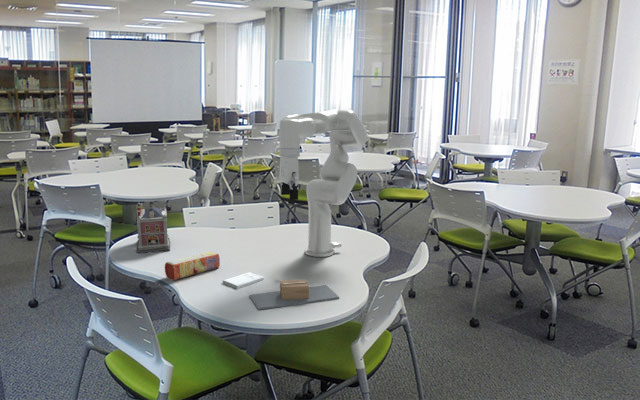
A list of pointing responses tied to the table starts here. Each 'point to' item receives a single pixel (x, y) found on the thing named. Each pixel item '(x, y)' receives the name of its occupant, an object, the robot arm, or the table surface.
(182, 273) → the snack package
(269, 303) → the mat
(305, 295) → the card box
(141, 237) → the model building
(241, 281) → the external hard drive
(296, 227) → the table surface
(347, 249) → the table surface
